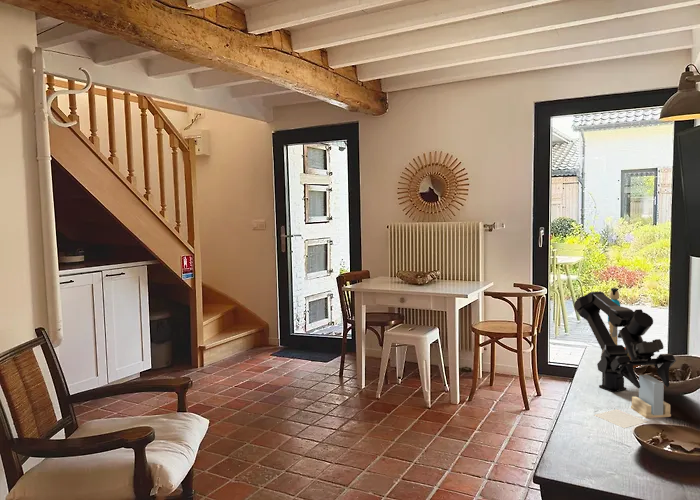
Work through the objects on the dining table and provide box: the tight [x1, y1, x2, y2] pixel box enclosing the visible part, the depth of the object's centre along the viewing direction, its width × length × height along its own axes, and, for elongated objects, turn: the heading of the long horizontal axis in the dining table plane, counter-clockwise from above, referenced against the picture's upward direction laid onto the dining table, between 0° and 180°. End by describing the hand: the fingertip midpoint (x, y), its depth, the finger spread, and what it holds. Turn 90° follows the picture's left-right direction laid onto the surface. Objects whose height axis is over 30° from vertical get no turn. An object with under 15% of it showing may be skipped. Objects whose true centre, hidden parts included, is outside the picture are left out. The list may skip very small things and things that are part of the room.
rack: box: [630, 396, 672, 419], centre depth 170 cm, size 8×8×4 cm
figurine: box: [607, 287, 621, 345], centre depth 225 cm, size 16×6×30 cm, turn 145°
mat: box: [594, 408, 649, 429], centre depth 166 cm, size 11×10×1 cm
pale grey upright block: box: [638, 374, 665, 415], centre depth 169 cm, size 8×3×10 cm, turn 3°
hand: (653, 387), depth 168 cm, fingers open, 9 cm apart
